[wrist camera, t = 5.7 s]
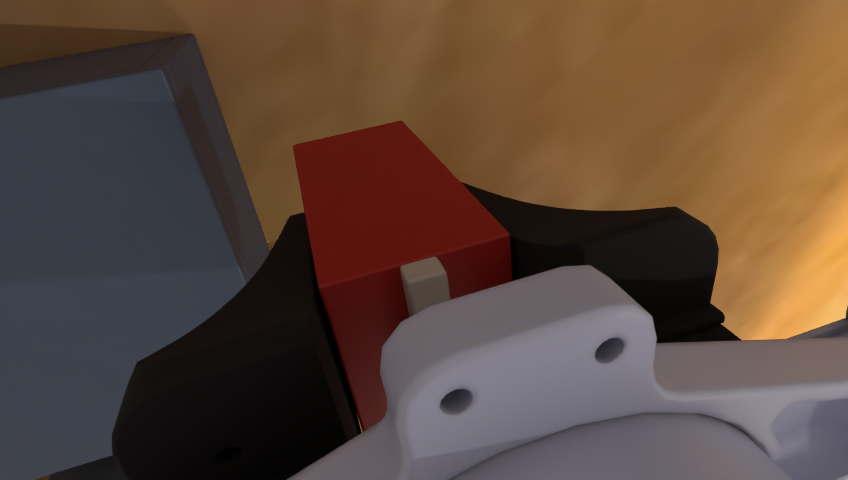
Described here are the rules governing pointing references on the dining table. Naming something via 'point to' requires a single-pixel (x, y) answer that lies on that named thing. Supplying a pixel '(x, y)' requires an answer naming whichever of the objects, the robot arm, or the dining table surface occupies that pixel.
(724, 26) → the dining table surface
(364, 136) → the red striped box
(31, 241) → the cabinet
